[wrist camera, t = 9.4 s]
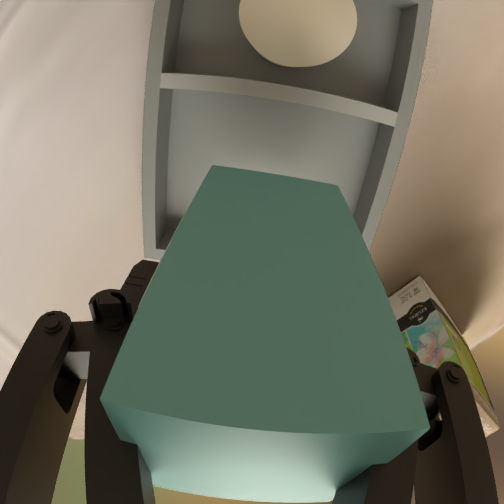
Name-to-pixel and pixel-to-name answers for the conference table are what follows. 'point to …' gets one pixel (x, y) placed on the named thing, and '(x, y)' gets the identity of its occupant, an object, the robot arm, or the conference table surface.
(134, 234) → the conference table surface
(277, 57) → the cream rounded capsule
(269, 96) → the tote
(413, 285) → the tea box
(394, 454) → the teal carton
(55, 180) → the conference table surface
